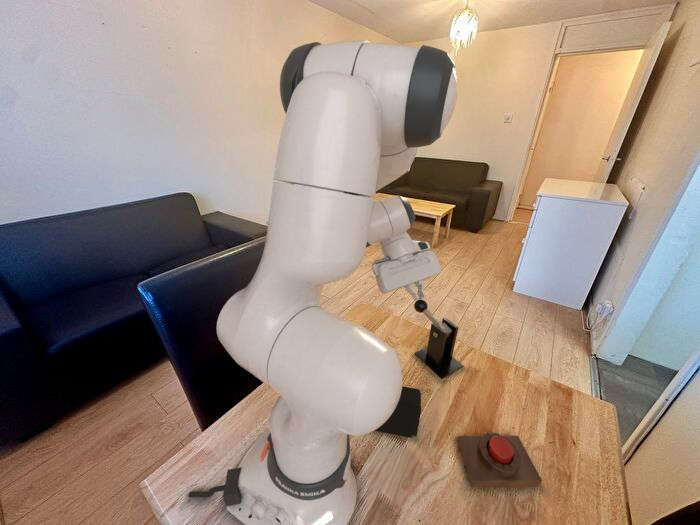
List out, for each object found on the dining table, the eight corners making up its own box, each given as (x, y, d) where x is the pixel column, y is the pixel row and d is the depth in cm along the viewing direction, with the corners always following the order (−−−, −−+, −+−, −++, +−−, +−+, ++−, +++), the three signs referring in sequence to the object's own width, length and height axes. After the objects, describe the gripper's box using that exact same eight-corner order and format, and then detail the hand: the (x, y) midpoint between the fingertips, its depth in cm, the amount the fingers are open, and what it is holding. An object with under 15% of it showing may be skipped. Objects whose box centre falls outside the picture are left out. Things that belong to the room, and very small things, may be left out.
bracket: (413, 356, 79) (419, 319, 73) (434, 345, 82) (441, 310, 77) (441, 382, 71) (449, 343, 65) (462, 369, 75) (472, 331, 69)
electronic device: (416, 439, 58) (421, 407, 54) (368, 429, 60) (369, 398, 56) (416, 420, 62) (421, 389, 58) (370, 412, 64) (372, 380, 59)
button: (493, 464, 51) (495, 458, 50) (483, 441, 54) (485, 435, 54) (515, 463, 51) (518, 458, 50) (504, 441, 55) (506, 435, 54)
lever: (409, 307, 79) (413, 299, 77) (419, 304, 81) (423, 295, 78) (440, 341, 71) (445, 333, 69) (450, 336, 73) (455, 328, 71)
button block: (471, 487, 51) (476, 475, 49) (456, 442, 58) (459, 430, 56) (538, 487, 51) (545, 474, 49) (514, 442, 58) (520, 429, 56)
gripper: (374, 257, 73) (396, 308, 70) (433, 241, 82) (453, 285, 79) (364, 265, 78) (384, 313, 75) (420, 249, 87) (439, 291, 84)
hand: (420, 299), depth 77 cm, fingers closed, pressing on lever
